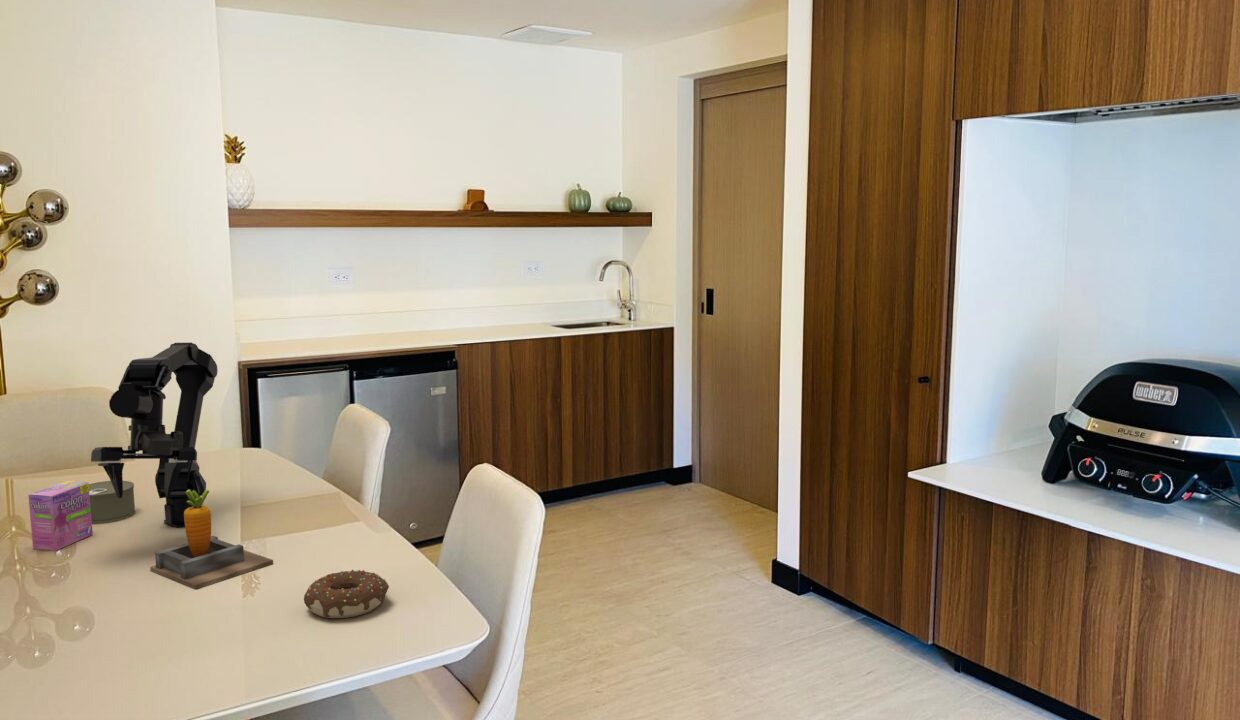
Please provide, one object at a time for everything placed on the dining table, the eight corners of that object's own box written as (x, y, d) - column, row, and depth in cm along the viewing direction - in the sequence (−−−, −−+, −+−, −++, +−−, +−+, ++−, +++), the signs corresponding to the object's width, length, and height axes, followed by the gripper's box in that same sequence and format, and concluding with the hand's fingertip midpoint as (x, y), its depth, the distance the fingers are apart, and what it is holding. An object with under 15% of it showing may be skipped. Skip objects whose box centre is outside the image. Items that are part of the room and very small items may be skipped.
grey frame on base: (227, 547, 193) (226, 529, 192) (273, 563, 184) (272, 545, 183) (150, 570, 180) (148, 551, 180) (195, 589, 171) (194, 569, 170)
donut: (344, 629, 154) (343, 600, 153) (289, 612, 161) (287, 584, 160) (406, 600, 166) (405, 573, 165) (352, 585, 173) (351, 559, 172)
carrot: (217, 559, 184) (213, 484, 182) (209, 568, 179) (205, 491, 177) (191, 560, 183) (186, 485, 182) (182, 569, 179) (177, 492, 177)
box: (56, 551, 191) (51, 495, 190) (32, 549, 192) (26, 493, 191) (94, 535, 201) (89, 481, 200) (71, 533, 202) (66, 480, 201)
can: (147, 509, 220) (145, 480, 219) (115, 525, 208) (112, 495, 207) (99, 508, 221) (96, 479, 220) (64, 524, 209) (61, 494, 208)
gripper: (113, 416, 179) (110, 499, 177) (210, 419, 193) (208, 495, 191) (91, 419, 186) (88, 499, 185) (186, 422, 200) (183, 495, 199)
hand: (144, 497), depth 190 cm, fingers open, 9 cm apart
